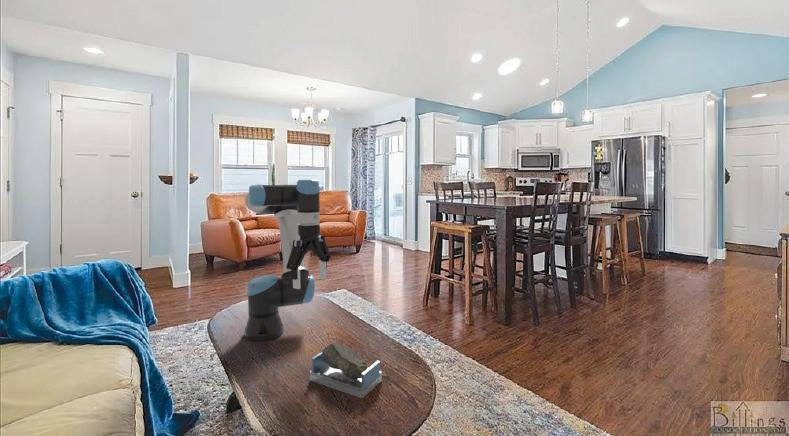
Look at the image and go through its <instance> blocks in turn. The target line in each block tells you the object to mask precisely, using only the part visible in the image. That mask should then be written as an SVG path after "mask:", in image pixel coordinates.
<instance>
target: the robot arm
mask: <svg viewBox="0 0 789 436" xmlns="http://www.w3.org/2000/svg"><path fill="white" fill-rule="evenodd" d="M320 189H321V188H320V182H319V180H317V179H298V180H297V182H296V184H255V185H253V184H252V185H249V188H248V193H247V195H246V196H245V199H244V201H245V205H246V207H247V208H248V209H249V210H250V211H251V212H255V213H258V214H263V215H271V214H272V215H273V214H274V216H273V217H274V219H275V220H276V221H278V226H279V235H280V244H281V245H280V247H281V254H282V263H283V272H282V273H281V275H280V277H281V278H278V276H277V275H275V274H266V275H262V276H261V275H260V276H258V277H255V278H253V279H251V280H250V281H249V282H248V284H247V292H246V294H247V306H248V307H247V308H248V317H247V322H246V326H245V329H244V337H245V339H246V340H249V341H253V342H254V341H256V342H261V341H268V340H273V339H276V338H278V337H280V336H281V335H283V334H284V324H283V321H282V319H281V317H280V314H279V308H282V307H289V306H295V305H304V304H309V303H311V302H312V301H313V299H314V295H315V289H316V288H315V287H316V285H315V283H316V281H315V276H314V275H313V274H310V271H309V269H308V268H306V267H305V261H304V258H305V257H306V254H307V253H308V252H311V251H314V253H315V254H316V256H317V257H318V258H319V261H318V275H319V276H318V277H319V280H320V279H321V280H327V268H328V266H327V265H328V264H327V263H328V262H329V261H330V259H331V258H332V257H331V253H330V251H329V248H328V244H327V243H326V239H325V235H324V234H322V235H321V225H320V222H321V221H320V220H321V219H320V216H321V215H320V212H321V211H320V208H321V207H320V192H321V191H320Z"/></svg>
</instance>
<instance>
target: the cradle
mask: <svg viewBox="0 0 789 436" xmlns="http://www.w3.org/2000/svg"><path fill="white" fill-rule="evenodd" d="M367 368H368V369H367V370H365V371H364V372H363V373H362V378H361V379H355V380H352V379H349V378H348V377H347V376H345V375H344V374H343V373H342V371H341V370H338V369H333V368H331V367H330V366H329V365H328V363H327V362H326V360H325V359H324V357H323V355H322V351H321V352H319V353H317V354H316V355H315V356H313V357H311V370H310V371H309V381H311V382H313V383H316V384H319V385H321V386H325V387H327V388H330V389H333V390H336V391H338V392H339V391H340V392H341V393H345V394H348V395H350V396H353V397H357V398H360V399H364V397H366V395H368V394H369V393H370V392H372V390H373V389H374V388H376V387H377V386H378V385H379V384H380V383H381V382H382V380H383V379H382V377H383V376H382V371H381V361H380V360H376V361H375V362H374V363H373V364H372V365H371V366H369V367H367Z"/></svg>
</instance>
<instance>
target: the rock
mask: <svg viewBox="0 0 789 436" xmlns="http://www.w3.org/2000/svg"><path fill="white" fill-rule="evenodd" d="M321 352H322V355H323V357H324V359H325V360H326V362H327V363H328V365H329V366H330V367H331V368H333V369H338V370H341V371H342V373H343V374H344V375H345V376H347V377H348V378H349V379H352V380H355V379H361V378H362V373H363V372H364V371H365V370H367V369H368V368H369V367H368V365H367V362H366V360H364V358H363V357H361V356H360V355H359V354H358V353H357V352H355V350H354V349H353V348H352V347H350V346H346V345H339V344H337V343H334V342H331V343H330V344H329V345H326V347H324V348H323V350H322V351H321Z"/></svg>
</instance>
